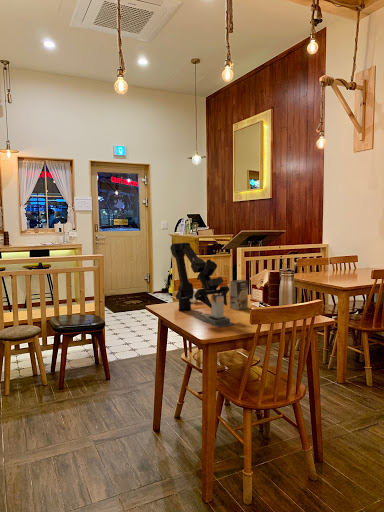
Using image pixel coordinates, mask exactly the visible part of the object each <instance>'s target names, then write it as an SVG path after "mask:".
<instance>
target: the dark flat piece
mask: <svg viewBox="0 0 384 512" xmlns="http://www.w3.org/2000/svg"><path fill="white" fill-rule="evenodd" d="M192 318H195V319H197V320H199V321H202V322H205V323H207V324H210V325H212V326H215V327H217V328H219V327H220V328H224V327H230V326H234V325H235V323H234V322H231V318H230V317H227V316H224V319H220V320H214V319H211V313H200V314H196V315H193V316H192Z"/></svg>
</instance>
